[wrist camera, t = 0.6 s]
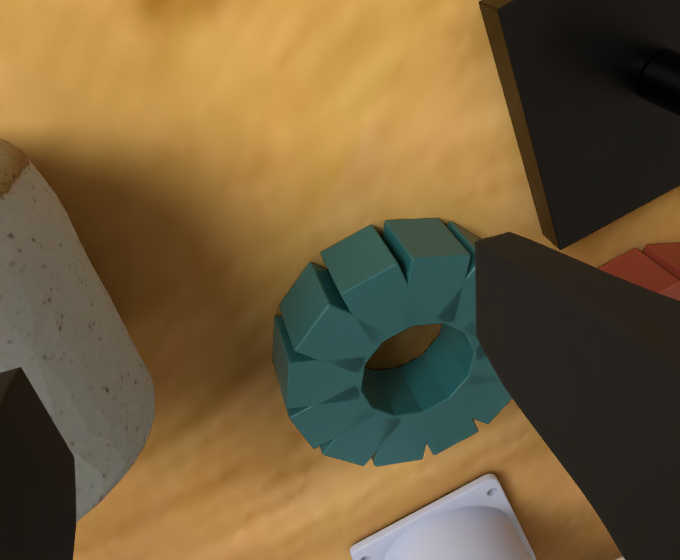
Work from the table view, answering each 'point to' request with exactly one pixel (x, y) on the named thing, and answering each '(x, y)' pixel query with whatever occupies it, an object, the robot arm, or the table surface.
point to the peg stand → (590, 104)
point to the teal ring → (371, 331)
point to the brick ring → (650, 268)
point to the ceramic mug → (68, 334)
